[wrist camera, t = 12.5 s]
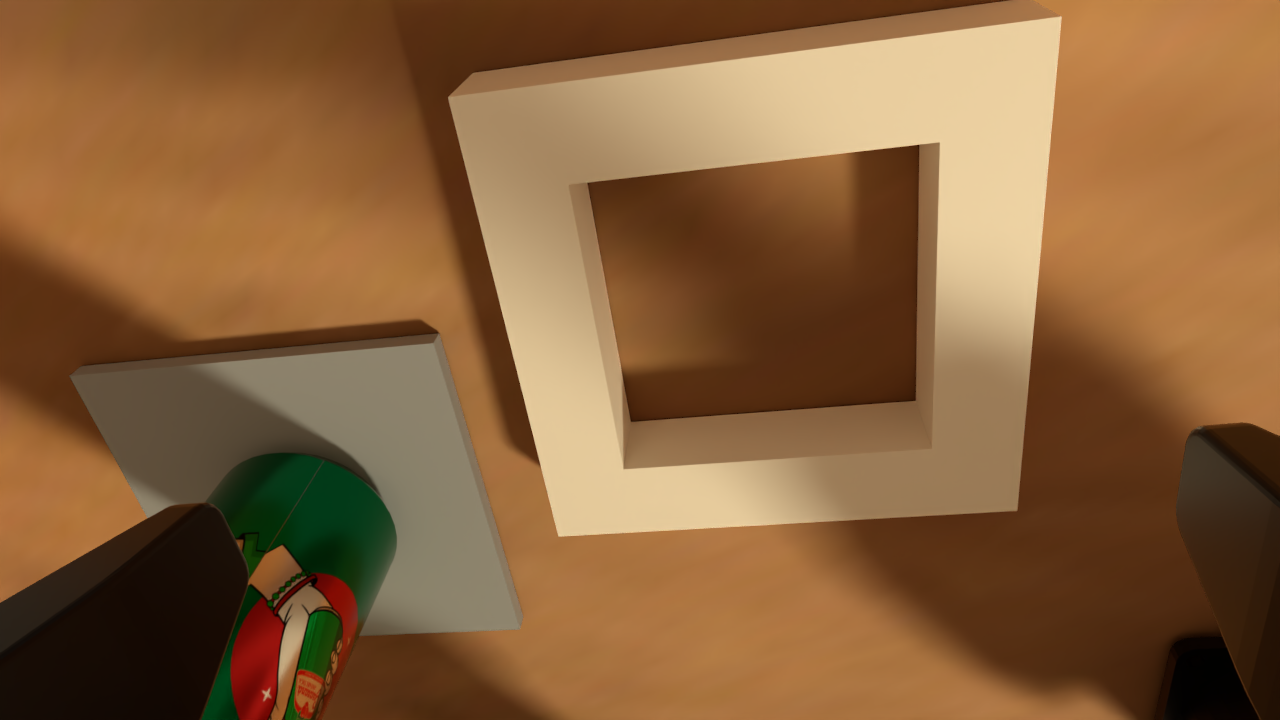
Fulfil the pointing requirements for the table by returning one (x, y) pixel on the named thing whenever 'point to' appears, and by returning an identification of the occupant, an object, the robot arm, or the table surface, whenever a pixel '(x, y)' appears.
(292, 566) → the soda can
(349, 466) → the grey mat
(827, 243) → the table surface
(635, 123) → the block
